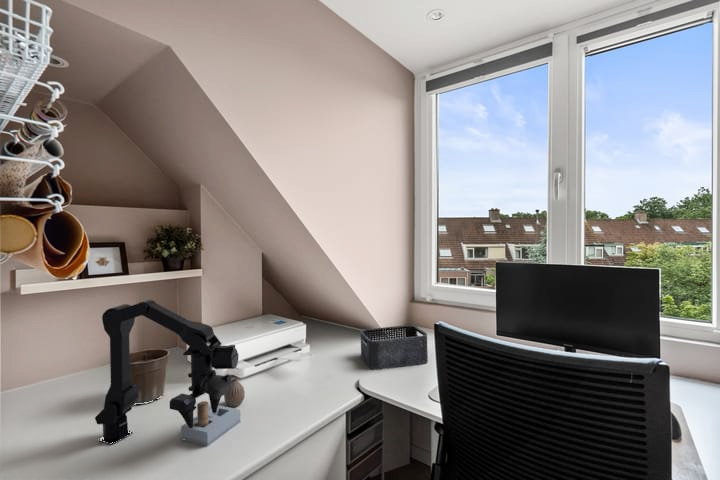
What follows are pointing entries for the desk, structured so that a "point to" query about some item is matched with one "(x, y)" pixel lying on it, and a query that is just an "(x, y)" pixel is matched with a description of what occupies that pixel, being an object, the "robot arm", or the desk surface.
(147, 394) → the plant pot
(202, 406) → the dowel
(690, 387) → the desk surface
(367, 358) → the storage bin
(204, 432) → the socket block
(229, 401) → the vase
